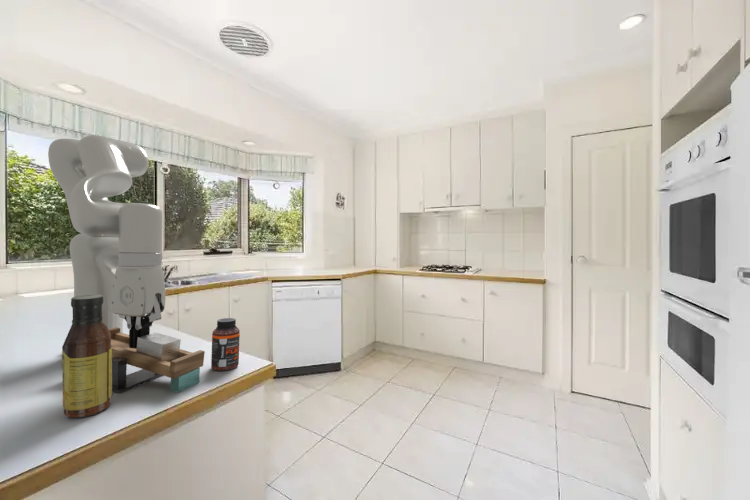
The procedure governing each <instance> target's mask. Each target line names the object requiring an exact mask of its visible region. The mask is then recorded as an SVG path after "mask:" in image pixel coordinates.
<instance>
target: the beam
mask: <svg viewBox="0 0 750 500" xmlns="http://www.w3.org/2000/svg"><path fill="white" fill-rule="evenodd" d="M109 331H110V333H111V346H112V358H114V357H120V358H126V359H127V366H128V365H129V366H131V367H135V368H138V369H140V370H142V369H144V370H147V371H150V372H154V373H157V374H160V375H163V376H164V377H167V378H170V379H171V378H173V379H175V378H177V377H179V376H181V375H184V374H186V373H188V372H190V371H193V370H195V369H197V368H202V367H203V366H204V360H205V353H206V352H205V350H201V349H200V350H197V351H194V352H192V351H187V350H184V349H181V348H180V350H179V358H177V359H174V360H171V361H168V362H167V361H164V360H160V359H157V358H154V357H150V356H147V355H143V354H140V353H137V352H136V350H137V349H135V348H129V333H128V334H126V333H120V328H118V327H115V328H111V329H109ZM163 376H162V377H163Z"/></svg>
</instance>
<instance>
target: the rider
mask: <svg viewBox="0 0 750 500" xmlns="http://www.w3.org/2000/svg"><path fill="white" fill-rule="evenodd" d="M180 347H181V338H177V337H173V336H170V335H167V334H162V333H159V332H153V333H150V334H149V335H145V336H141V337H138V340H137V350H136V352H137V353H140V354H143V355H147V356H150V357H154V358H157V359H160V360H164V361H167V362H168V361H171V360H174V359H177V358H179V350H180V349H181V348H180Z"/></svg>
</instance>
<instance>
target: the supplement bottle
mask: <svg viewBox="0 0 750 500" xmlns="http://www.w3.org/2000/svg"><path fill="white" fill-rule="evenodd" d="M236 320H237V319H236V318H234V317H233V318H232V317H226V318H225V317H224V318H220V319H218V320H217V321H216V327H215V329H213V331H212V334H211V335H212V336H211V357H210V358H211V359H210V360H211V362H210V367H211V369H212V370H214V371H217V372H218V371H220V372H223V371H231V370H233V369H235V368H237V367H238V366H239V363H240V362H239V359H240V336H241V335H240V328H239V327H237V325H236V324H237V322H236Z"/></svg>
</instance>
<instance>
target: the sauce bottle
mask: <svg viewBox="0 0 750 500" xmlns="http://www.w3.org/2000/svg"><path fill="white" fill-rule="evenodd" d="M102 304H103V296H102V295H83V296H76V297H74V296H73V297H71V299H70V307H71V308H72V320H71V326H70V329H69V331H68V333H67V335H66V337H65V339H64V342H63V344H62V348H61V353H62V354H61V355H62V356H61V357H62V361H61V362H62V363H61V364H62V365H61V368H62V408H63V414H64V415H65V417H66V418H71V419H74V418H75V419H80V418H87V417H90V416H91V417H92V416H94V415H96V414H98V413H100V412H102V411H105V410H106V409H107V408H109V407H110V406H111V404H112V403H111V401H112V398H111V397H112V395H113V392H112V346H111V333H110V331H109V329H108V328H107V326H106V325H105V324H104V323H103V322H102V319H103V317H102Z"/></svg>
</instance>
